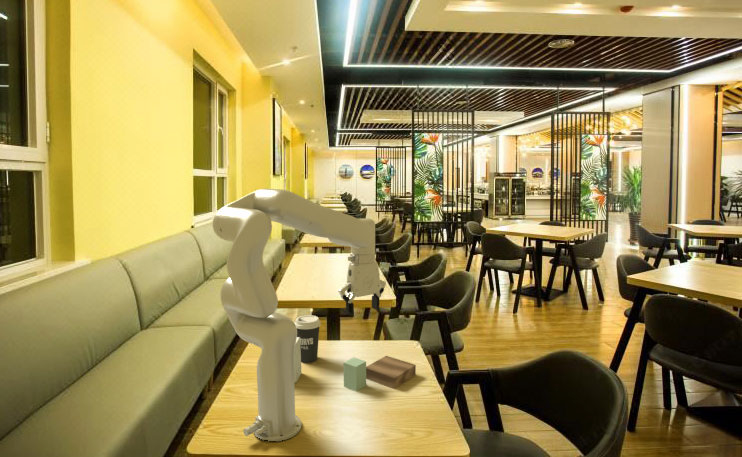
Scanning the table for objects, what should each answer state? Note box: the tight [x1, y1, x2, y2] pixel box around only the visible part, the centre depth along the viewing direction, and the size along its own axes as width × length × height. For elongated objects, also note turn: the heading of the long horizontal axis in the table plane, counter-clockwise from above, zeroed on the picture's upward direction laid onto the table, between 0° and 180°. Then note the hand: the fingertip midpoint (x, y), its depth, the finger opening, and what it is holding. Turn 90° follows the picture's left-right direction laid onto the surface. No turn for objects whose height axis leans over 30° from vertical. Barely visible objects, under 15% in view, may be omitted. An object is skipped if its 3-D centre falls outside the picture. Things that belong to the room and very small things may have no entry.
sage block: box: [343, 356, 367, 392], centre depth 150 cm, size 5×5×8 cm
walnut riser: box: [366, 355, 417, 390], centre depth 157 cm, size 12×12×4 cm
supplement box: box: [294, 337, 302, 384], centre depth 155 cm, size 7×7×13 cm
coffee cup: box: [293, 314, 322, 364], centre depth 169 cm, size 10×10×15 cm
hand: (362, 311), depth 151 cm, fingers open, 9 cm apart
